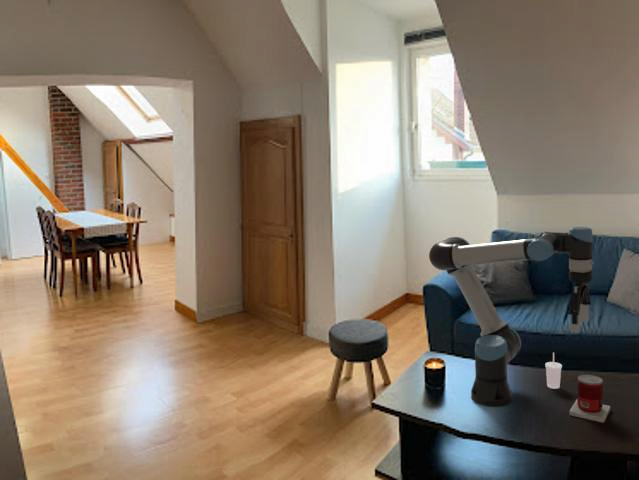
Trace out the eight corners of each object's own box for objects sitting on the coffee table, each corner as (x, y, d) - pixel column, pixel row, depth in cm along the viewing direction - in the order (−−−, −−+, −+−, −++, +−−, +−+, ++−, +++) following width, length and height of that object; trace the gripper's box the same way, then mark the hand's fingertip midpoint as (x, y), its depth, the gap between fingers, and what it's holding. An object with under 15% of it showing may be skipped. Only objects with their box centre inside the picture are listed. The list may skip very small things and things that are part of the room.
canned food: (605, 413, 189) (605, 383, 187) (580, 412, 191) (581, 383, 189) (598, 403, 196) (599, 374, 195) (574, 402, 198) (575, 374, 196)
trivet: (569, 415, 193) (569, 410, 193) (576, 402, 201) (576, 398, 201) (603, 422, 186) (603, 418, 186) (610, 409, 195) (610, 405, 194)
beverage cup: (542, 383, 220) (543, 350, 217) (558, 382, 219) (558, 349, 217) (547, 389, 214) (548, 355, 211) (564, 389, 213) (564, 355, 211)
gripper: (583, 278, 184) (582, 338, 187) (599, 264, 203) (598, 318, 206) (560, 276, 188) (559, 335, 191) (577, 262, 207) (576, 316, 211)
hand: (579, 326), depth 199 cm, fingers open, 13 cm apart
